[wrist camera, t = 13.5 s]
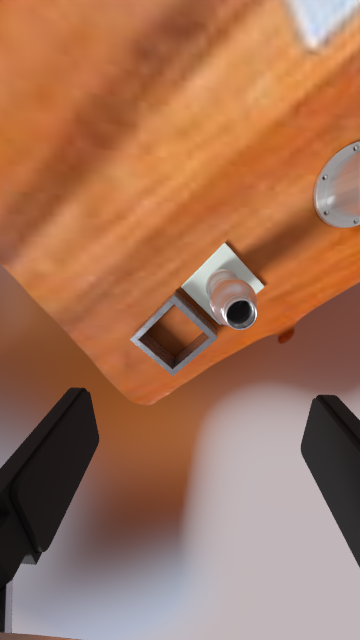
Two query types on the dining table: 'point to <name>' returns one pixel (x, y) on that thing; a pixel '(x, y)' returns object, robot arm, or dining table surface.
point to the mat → (216, 261)
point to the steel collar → (190, 351)
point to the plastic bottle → (231, 300)
